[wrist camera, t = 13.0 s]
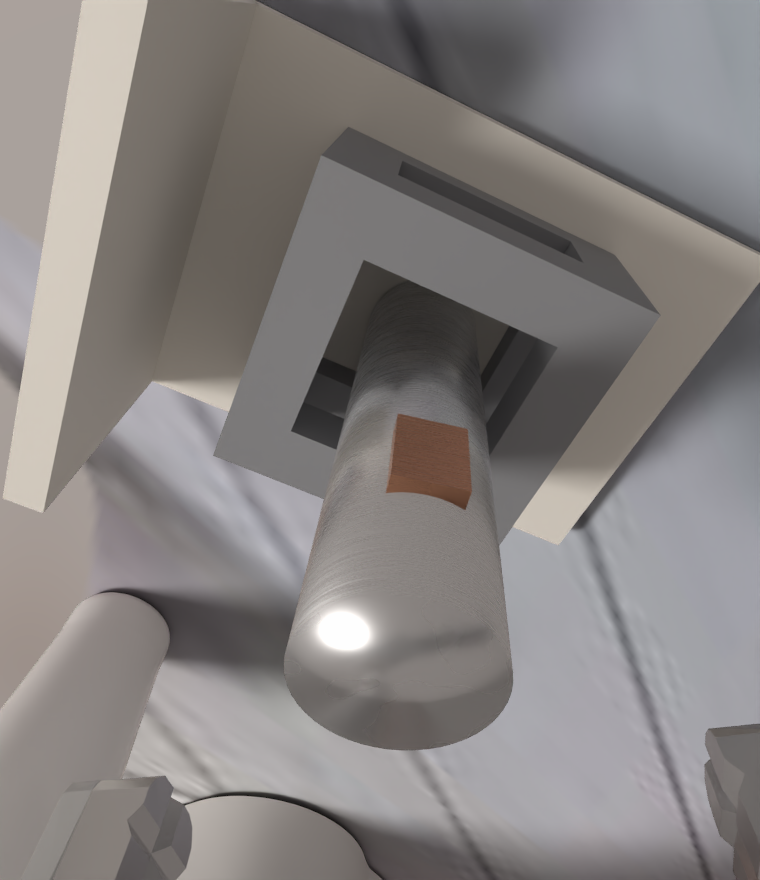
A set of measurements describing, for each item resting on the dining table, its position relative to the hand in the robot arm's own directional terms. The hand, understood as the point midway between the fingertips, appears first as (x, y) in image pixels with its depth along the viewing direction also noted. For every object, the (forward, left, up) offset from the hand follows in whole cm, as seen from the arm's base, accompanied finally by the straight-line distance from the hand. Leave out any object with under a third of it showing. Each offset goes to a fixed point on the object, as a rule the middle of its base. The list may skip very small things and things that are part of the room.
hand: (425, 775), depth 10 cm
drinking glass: (-23, +8, -19) cm, 31 cm away
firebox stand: (0, +1, -19) cm, 19 cm away
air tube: (0, 0, -18) cm, 18 cm away
